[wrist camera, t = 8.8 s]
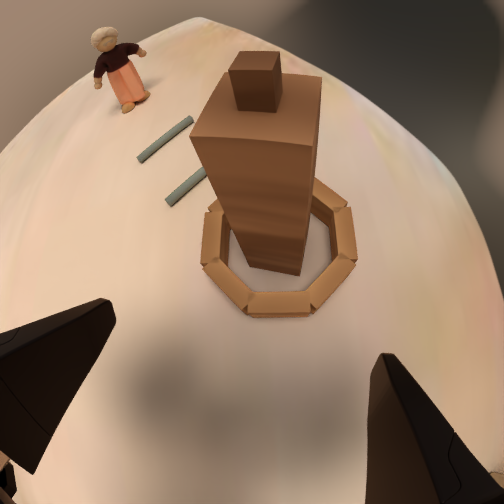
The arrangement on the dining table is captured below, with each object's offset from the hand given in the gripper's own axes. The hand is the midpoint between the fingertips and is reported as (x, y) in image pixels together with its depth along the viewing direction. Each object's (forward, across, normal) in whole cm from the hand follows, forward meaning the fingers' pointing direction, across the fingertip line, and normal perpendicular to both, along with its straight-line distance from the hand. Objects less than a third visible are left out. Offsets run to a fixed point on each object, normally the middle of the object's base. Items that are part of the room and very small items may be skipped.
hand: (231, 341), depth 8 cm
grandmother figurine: (+25, +21, -11) cm, 35 cm away
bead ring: (+12, 0, +2) cm, 12 cm away
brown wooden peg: (+12, 0, +2) cm, 12 cm away
